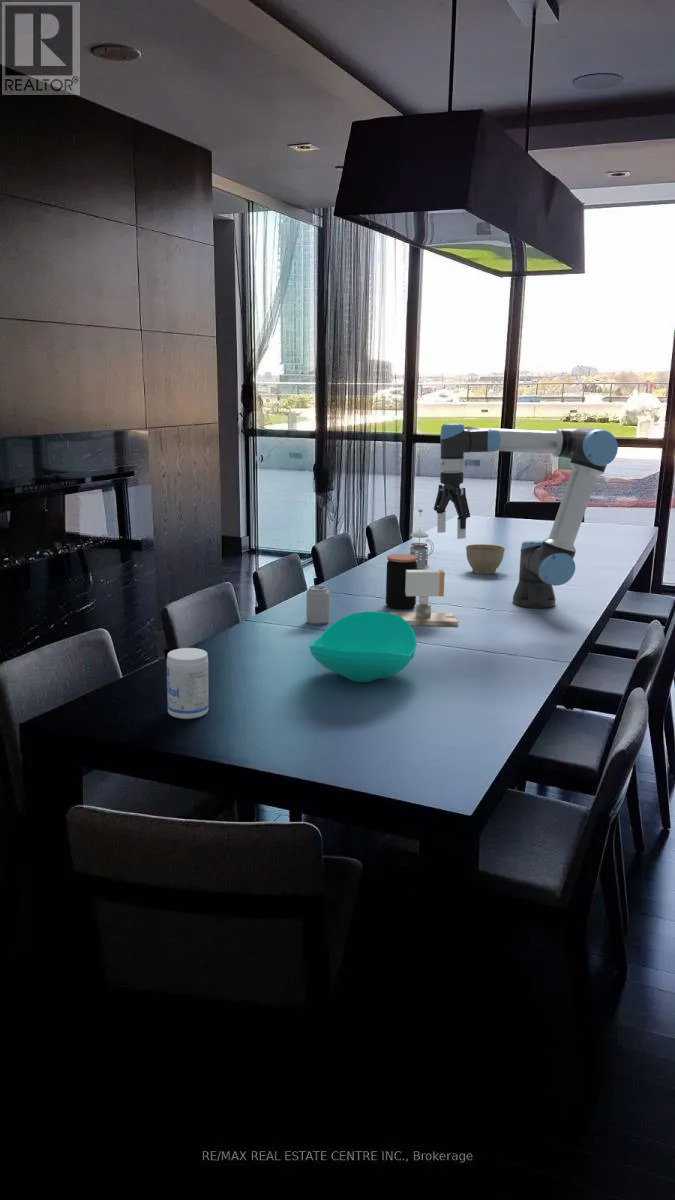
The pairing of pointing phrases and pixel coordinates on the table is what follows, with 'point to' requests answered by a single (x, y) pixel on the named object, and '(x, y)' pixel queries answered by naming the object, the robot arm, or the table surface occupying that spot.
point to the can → (317, 605)
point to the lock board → (429, 621)
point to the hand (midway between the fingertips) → (451, 535)
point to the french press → (420, 548)
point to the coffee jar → (399, 581)
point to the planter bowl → (484, 557)
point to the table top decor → (366, 646)
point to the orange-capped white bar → (424, 584)
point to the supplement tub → (187, 683)
